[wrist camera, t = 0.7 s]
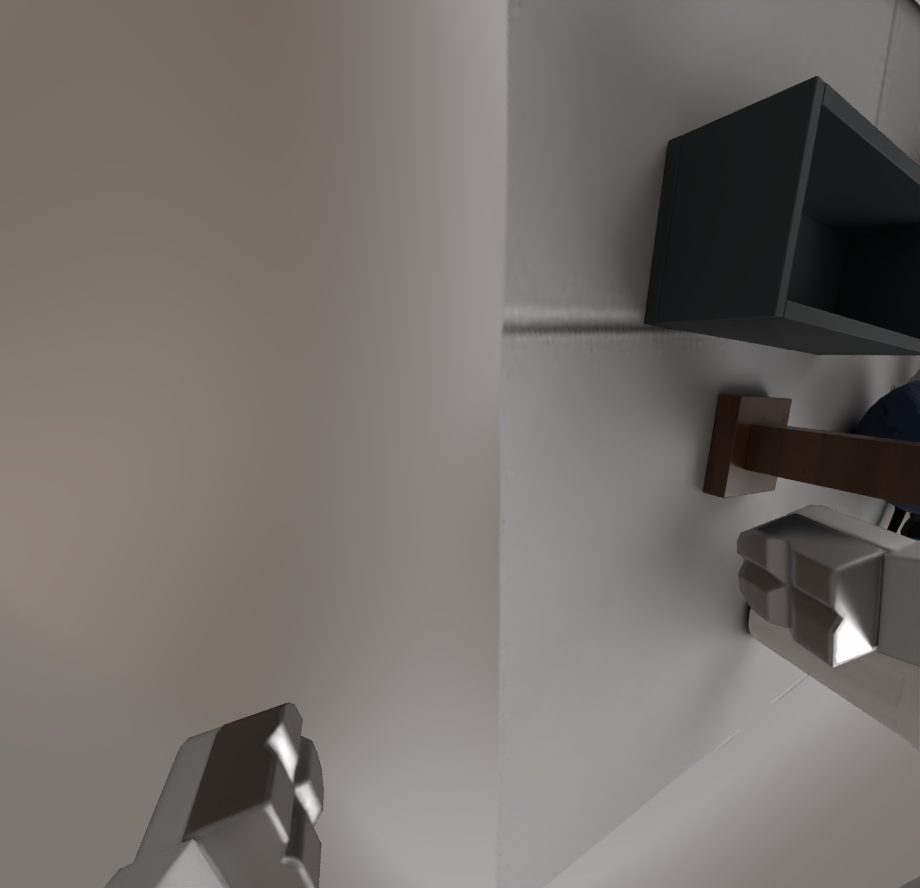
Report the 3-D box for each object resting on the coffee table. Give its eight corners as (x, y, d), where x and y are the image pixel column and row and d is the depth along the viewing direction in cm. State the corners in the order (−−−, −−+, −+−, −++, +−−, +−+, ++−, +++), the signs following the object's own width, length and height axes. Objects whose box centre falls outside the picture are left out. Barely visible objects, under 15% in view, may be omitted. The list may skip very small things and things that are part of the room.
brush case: (643, 323, 26) (774, 315, 20) (668, 140, 24) (817, 74, 18) (819, 354, 37) (933, 355, 31) (843, 232, 36) (968, 209, 30)
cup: (765, 661, 42) (966, 770, 31) (717, 649, 37) (939, 775, 26) (802, 563, 43) (1014, 637, 32) (760, 538, 38) (997, 615, 27)
